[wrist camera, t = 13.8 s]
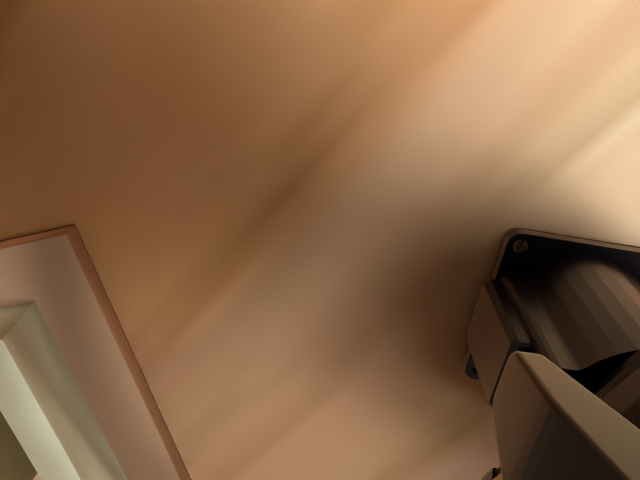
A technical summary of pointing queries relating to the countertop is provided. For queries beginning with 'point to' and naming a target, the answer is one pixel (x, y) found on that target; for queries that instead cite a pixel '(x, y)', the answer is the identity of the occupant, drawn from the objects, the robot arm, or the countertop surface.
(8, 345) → the shaker holder
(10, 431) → the cork
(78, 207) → the countertop surface
